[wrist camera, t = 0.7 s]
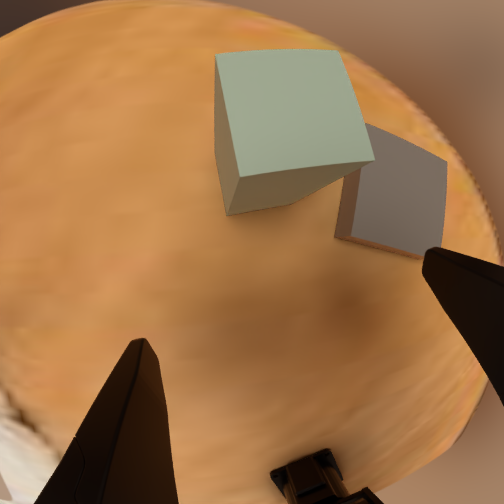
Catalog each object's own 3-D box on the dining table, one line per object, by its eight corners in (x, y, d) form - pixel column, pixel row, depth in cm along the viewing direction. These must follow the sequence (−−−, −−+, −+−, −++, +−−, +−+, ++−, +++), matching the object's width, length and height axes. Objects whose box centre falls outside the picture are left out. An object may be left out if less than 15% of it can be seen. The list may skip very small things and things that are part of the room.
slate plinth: (417, 259, 23) (438, 260, 20) (334, 236, 22) (350, 236, 19) (427, 168, 23) (447, 161, 20) (349, 135, 22) (365, 122, 19)
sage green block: (291, 204, 22) (375, 160, 10) (226, 215, 21) (239, 177, 9) (277, 143, 22) (337, 50, 9) (214, 152, 21) (215, 54, 9)
